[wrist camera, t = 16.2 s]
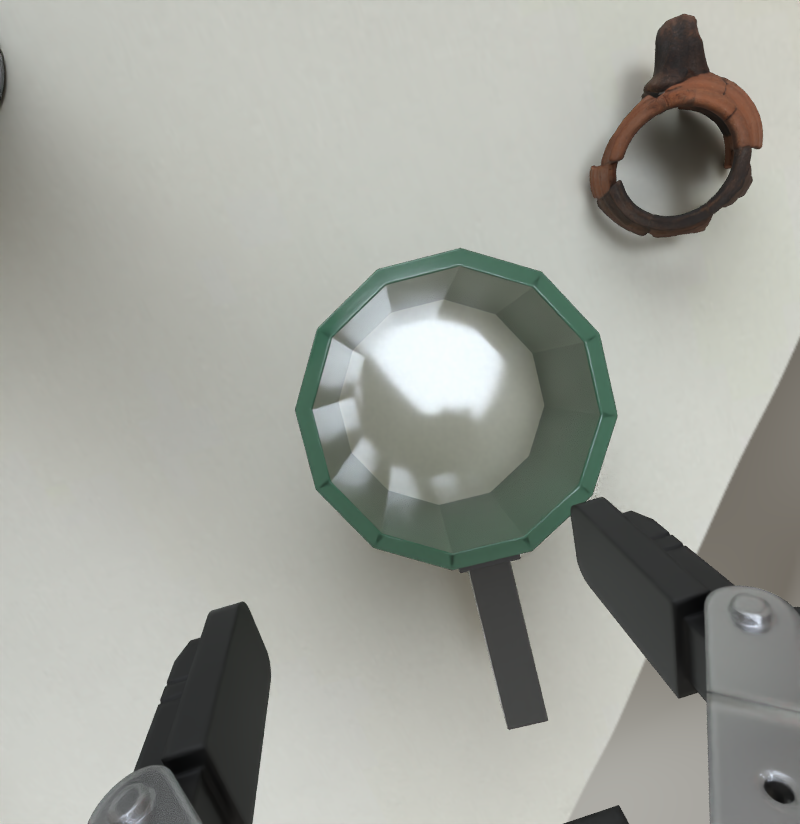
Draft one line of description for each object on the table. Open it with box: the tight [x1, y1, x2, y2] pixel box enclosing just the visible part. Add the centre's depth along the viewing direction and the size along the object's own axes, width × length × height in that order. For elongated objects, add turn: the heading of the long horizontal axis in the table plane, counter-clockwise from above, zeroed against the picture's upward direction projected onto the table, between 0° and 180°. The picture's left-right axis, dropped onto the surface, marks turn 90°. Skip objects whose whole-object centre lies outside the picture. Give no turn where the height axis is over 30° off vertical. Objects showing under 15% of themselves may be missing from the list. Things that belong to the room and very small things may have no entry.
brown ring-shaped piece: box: [590, 14, 763, 238], centre depth 31 cm, size 12×10×8 cm
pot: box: [295, 248, 617, 730], centre depth 28 cm, size 25×15×10 cm, turn 14°
